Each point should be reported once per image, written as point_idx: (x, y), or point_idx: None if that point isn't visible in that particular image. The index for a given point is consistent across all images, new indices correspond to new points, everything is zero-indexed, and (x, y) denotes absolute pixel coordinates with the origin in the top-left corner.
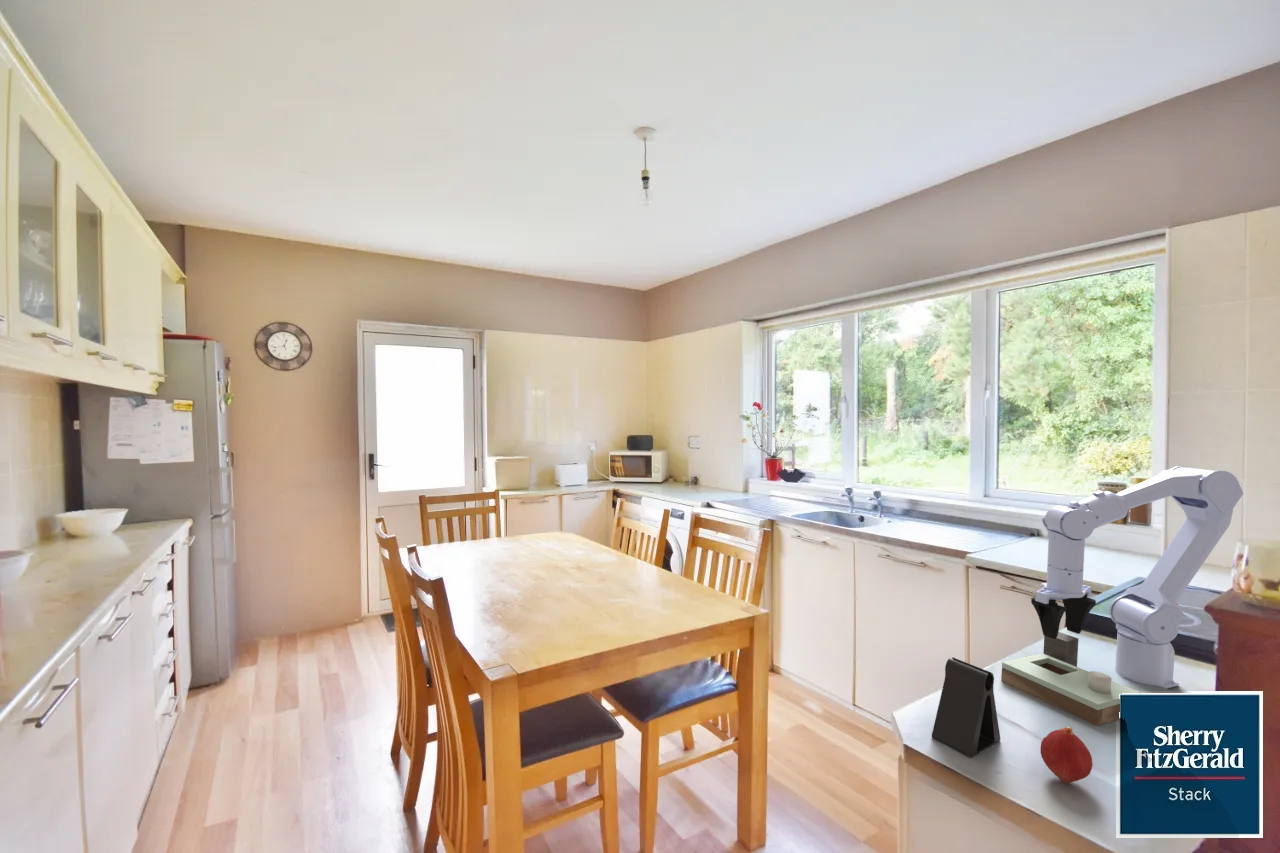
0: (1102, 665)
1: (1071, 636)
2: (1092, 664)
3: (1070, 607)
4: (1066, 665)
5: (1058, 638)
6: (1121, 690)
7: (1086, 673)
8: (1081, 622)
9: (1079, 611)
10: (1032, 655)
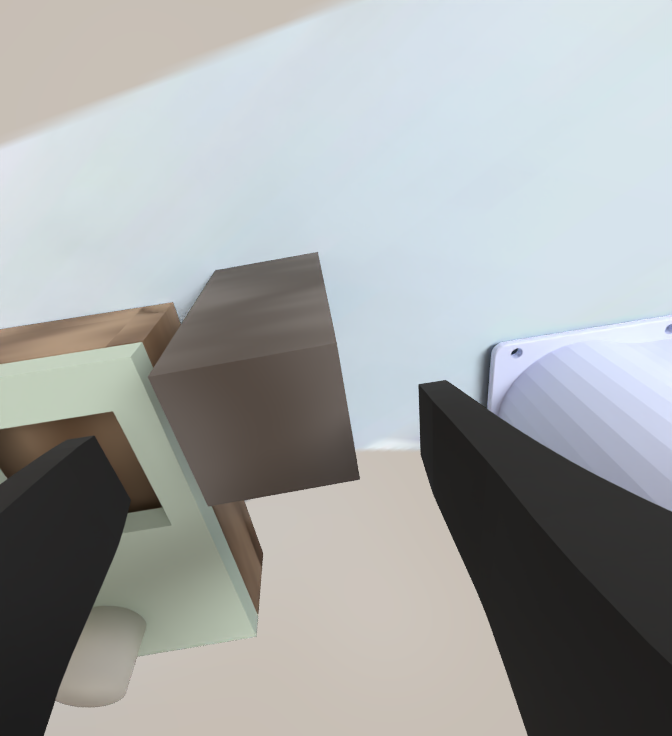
0: (611, 263)
1: (345, 447)
2: (578, 244)
3: (549, 623)
4: (152, 484)
5: (192, 464)
6: (197, 628)
7: (180, 546)
8: (465, 554)
9: (524, 666)
10: (28, 372)
